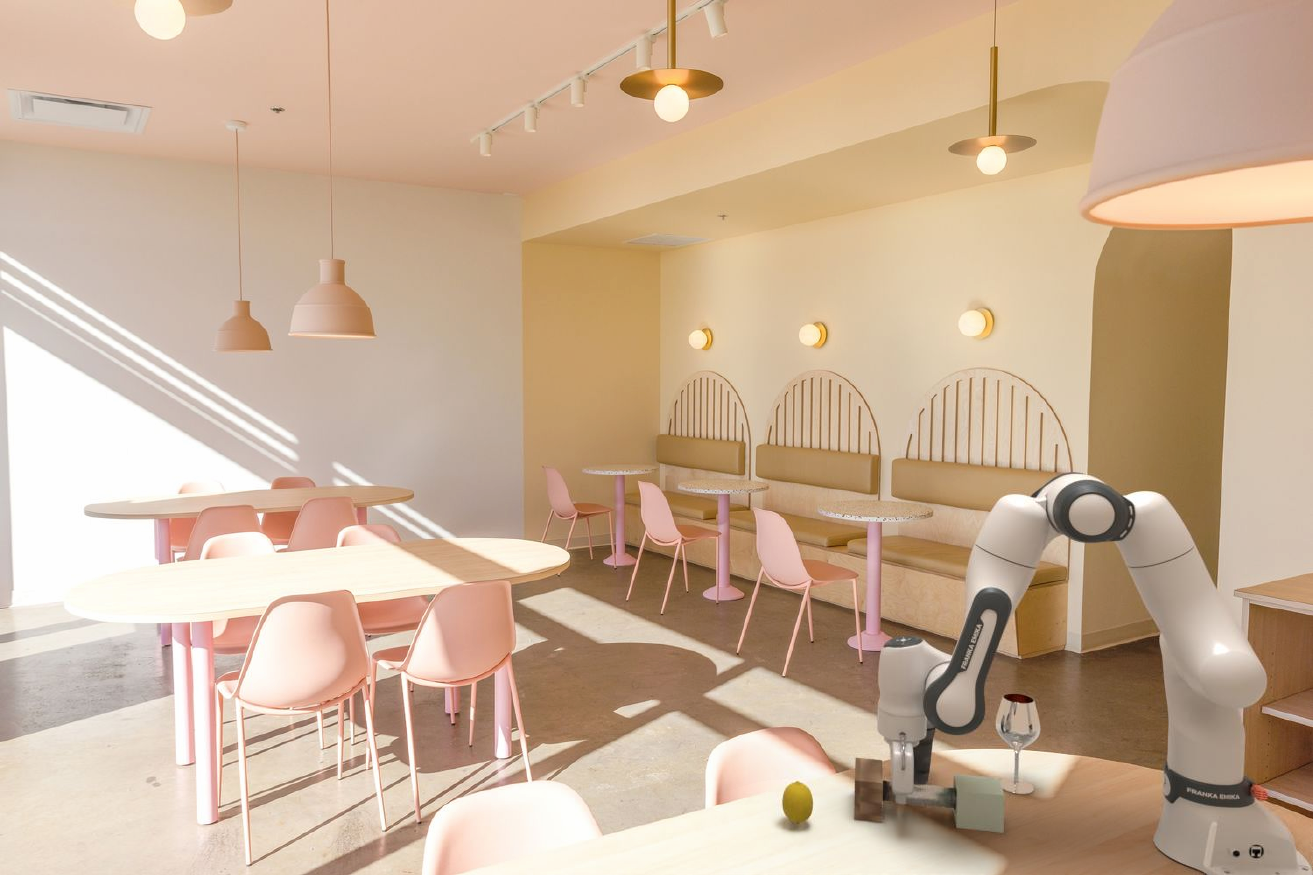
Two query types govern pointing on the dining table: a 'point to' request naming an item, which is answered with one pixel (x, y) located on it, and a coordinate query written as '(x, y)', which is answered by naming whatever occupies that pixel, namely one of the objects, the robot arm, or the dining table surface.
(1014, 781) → the wineglass
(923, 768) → the beverage cup
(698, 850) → the dining table surface
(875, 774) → the socket
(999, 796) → the sage green block
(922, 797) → the tube
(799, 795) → the lemon
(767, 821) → the dining table surface
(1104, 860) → the dining table surface
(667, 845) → the dining table surface
